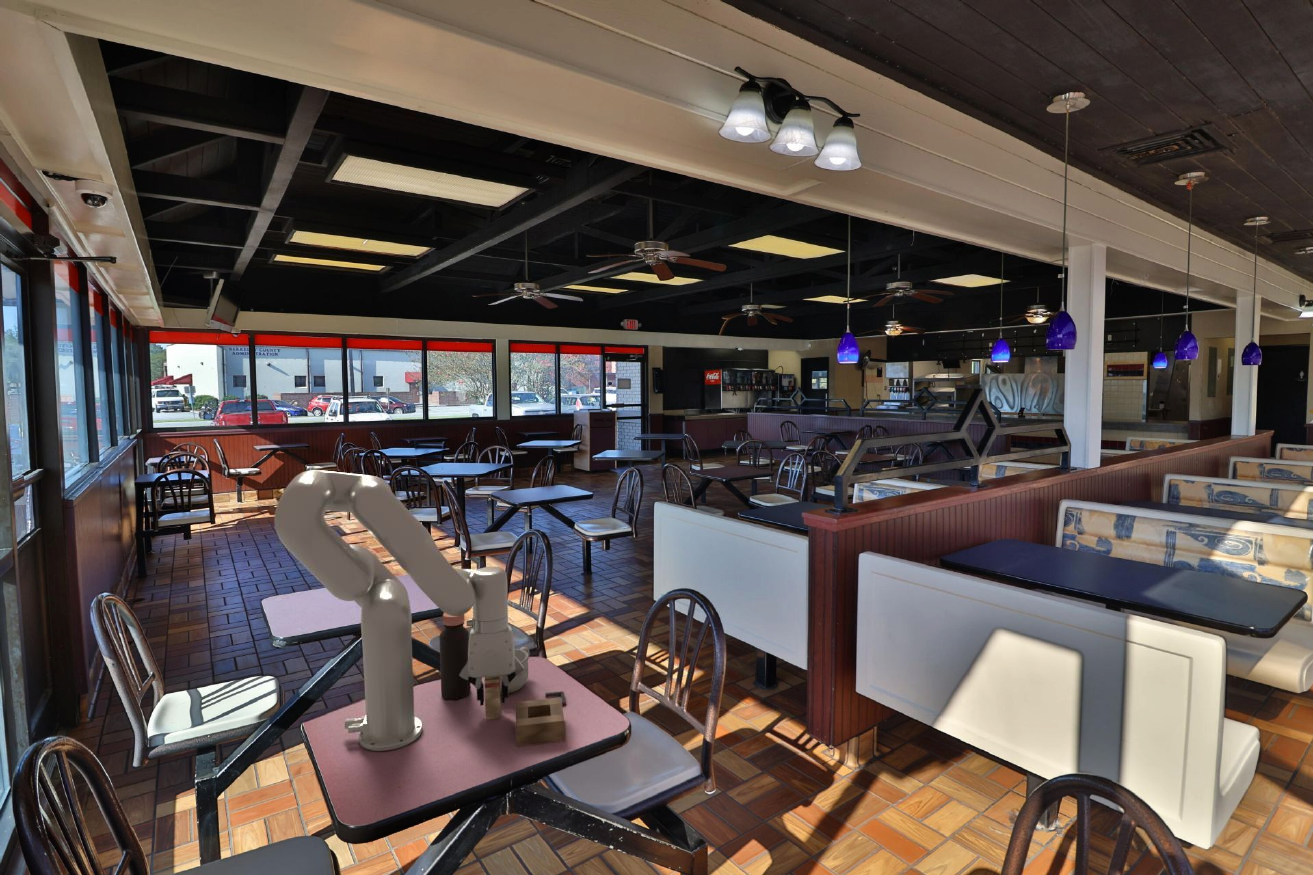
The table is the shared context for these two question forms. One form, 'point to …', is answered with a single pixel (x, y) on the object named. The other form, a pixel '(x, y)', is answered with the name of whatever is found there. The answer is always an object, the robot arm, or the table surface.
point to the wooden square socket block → (539, 722)
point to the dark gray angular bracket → (557, 695)
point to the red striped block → (492, 697)
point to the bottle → (453, 657)
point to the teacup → (521, 677)
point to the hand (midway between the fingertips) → (492, 700)
